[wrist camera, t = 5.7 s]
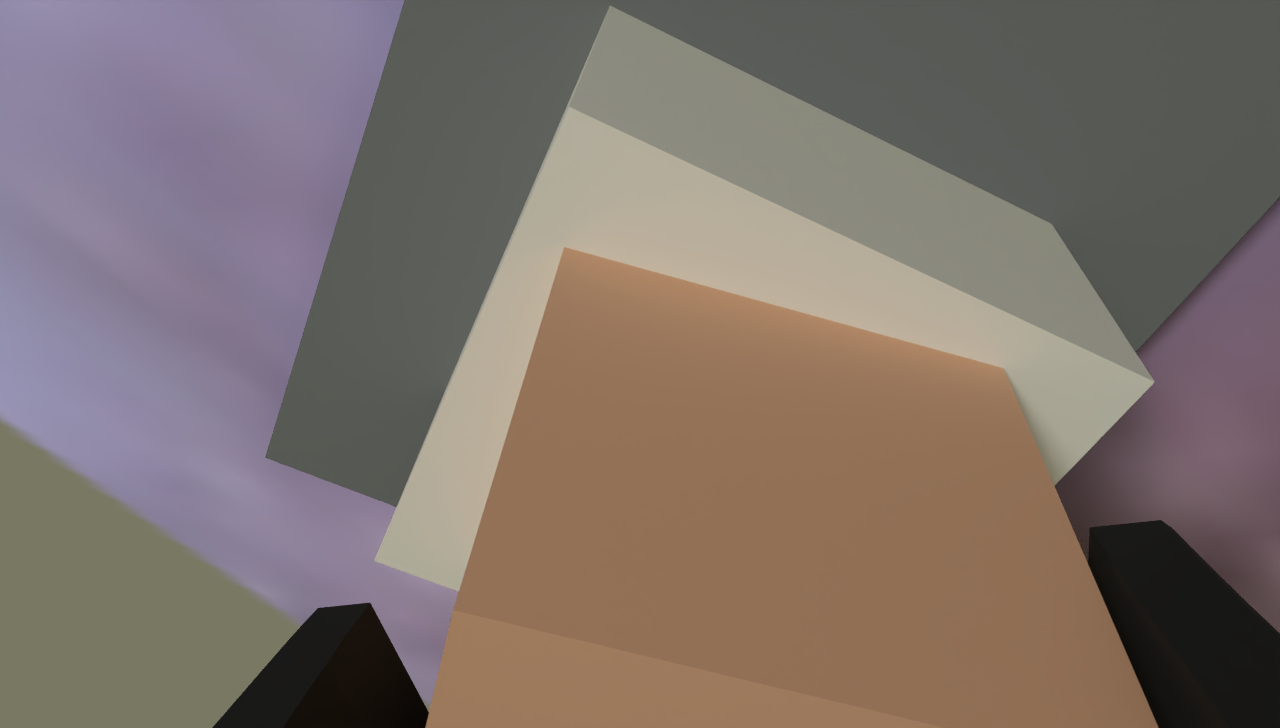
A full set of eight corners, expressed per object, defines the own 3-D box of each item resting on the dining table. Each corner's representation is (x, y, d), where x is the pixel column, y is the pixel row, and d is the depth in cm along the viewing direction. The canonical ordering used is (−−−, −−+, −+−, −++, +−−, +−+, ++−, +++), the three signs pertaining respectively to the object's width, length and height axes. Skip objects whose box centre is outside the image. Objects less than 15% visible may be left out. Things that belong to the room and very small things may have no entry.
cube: (1003, 367, 11) (1182, 784, 6) (834, 651, 13) (882, 1069, 9) (564, 246, 10) (454, 610, 6) (483, 566, 13) (369, 964, 9)
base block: (1051, 223, 14) (1155, 382, 11) (805, 535, 18) (824, 724, 14) (610, 5, 13) (568, 106, 9) (445, 390, 16) (373, 560, 13)
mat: (1694, -301, 11) (1741, -301, 10) (834, 649, 20) (837, 672, 20) (722, -994, 8) (721, -1040, 8) (277, 437, 18) (265, 457, 17)
